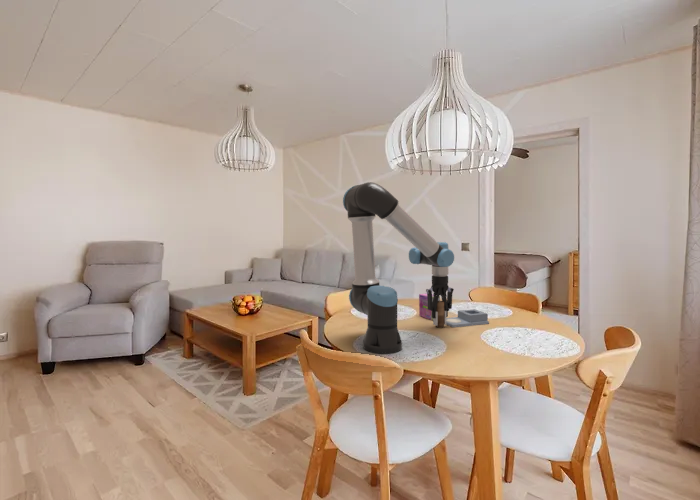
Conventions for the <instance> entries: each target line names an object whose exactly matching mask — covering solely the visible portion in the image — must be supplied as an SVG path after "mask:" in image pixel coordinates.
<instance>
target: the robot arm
mask: <svg viewBox="0 0 700 500" xmlns="http://www.w3.org/2000/svg"><path fill="white" fill-rule="evenodd" d="M399 202H400V201H399V200H398V199H397V198H396V197H395V196H394V195H393V194H391V192H390V191H388V190H387V189H386V188H384V187H383V186H381V185H380V184H378V183H375V182H364V183H361V184H357V185H354V186H352V187H350V188H348V189H346V191H345V192H344V195H343V196H342V204H343V208H344V209H345V210H346V211H347V219H348V220H349V221H350V222H351V228H352V229H351V230H352V231H351V232H352V245H353V259H354V263H353V264H354V277H355V278H354V280H352V282H351V285H352V286H351V289H350V290H349V293H348V294H349V295H348V297H349V298H348V299H349V302H350V305H351V306H352V307H353V309H354V310H356V311H357V312H359V313H362V314H364V315H366V316H367V328H366V331H365V335H364V338H363V340H362V343H363V345H362V347H363V349H364V350H365V351H368V352H370V353H374V354H381V355H383V354H385V355H386V354H394V353H398V352H400V351H401V350H403V348H402V347H403V342H402V337H401V334H400V332H399V329H398V293H397V291H396V289H395V288H393V287H390V286H385V285H380V280H379V279H378V278H377V277H376V265H375V264H376V263H375V247H374V232H373V231H374V229H373V227H374V226H373V220H374V219H375V218H376V216H377V217H379V219H381V220H385V221H387V222H388V223H389V224H390V225H391V226H392V227H393V228H394V229H395V230H396V231H398V232H399V233H400V234H401V235H402V236H403V237H404V238H405V239H406V240H407V241H408V242H410V244H412V245H413V246H414V247H412V248H410V249H409V251H408V259H409V260H408V261H409V262H410V263H411V264H413V265H419V264H420V265H427V266H431V287H430V288H426V289H425V292H426V293H427V300H428V310H431V311H432V318H433V320H432V325H434V326H435V325H436V326H438V312H437V311H436V308H437V303H438V298H439V296H440V299H441V301H444V326H446V318H449V316H448V315H449V311H450V310H452V309H453V292H454V288H453V287H449V276H448V275H449V267H450V266H452V265H453V263H454V262H455V254H454V251H452V250H451V249H449V243H448V242H446V241H444V242H443V241H440V242H439V241H436V240H435V239H434V238H433V237H432V236H431V235H430V234H429V232H427V231H426V230H425V229H424V228H423V227H422V226H421V225H420V224H419V223H418V222H417V221H416V220H415V219H414V218H413V217H412V216H410V214H408V212H406V211H405V209H403V208H402V207H401V205H399V204H400V203H399ZM432 295H433V296H434V297H433V302H432Z"/></svg>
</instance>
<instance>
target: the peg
mask: <svg viewBox="0 0 700 500" xmlns="http://www.w3.org/2000/svg"><path fill="white" fill-rule="evenodd" d="M436 311H437V312H438V326H436V325H434V326H435V328H438V329H444V328H445V325H444V301H442V300H440V301H438V303H437V308H436Z"/></svg>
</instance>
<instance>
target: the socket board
mask: <svg viewBox="0 0 700 500" xmlns="http://www.w3.org/2000/svg"><path fill="white" fill-rule="evenodd" d="M488 315H489V313H487V312H484V311H482V310H478V309H463V310H457V316H453V317H446V325H447V326H449V327H450V328H459V327H460V328H461V327H470V326H472V327H473V326H481V325H489V324H490V320H488V317H489V316H488ZM446 325H445V326H446Z"/></svg>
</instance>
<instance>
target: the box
mask: <svg viewBox="0 0 700 500" xmlns="http://www.w3.org/2000/svg"><path fill="white" fill-rule="evenodd" d="M433 297H434V296H433V294H432V302H433ZM418 300H419V301H418V307H419V309H418V311H419V314H418V315H419V317H422V318H425V319H427V320H430V321H433V318H432V311H431V310H428V300H427V292H426V293H419V295H418ZM438 301H441V295H439V298H438Z"/></svg>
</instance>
